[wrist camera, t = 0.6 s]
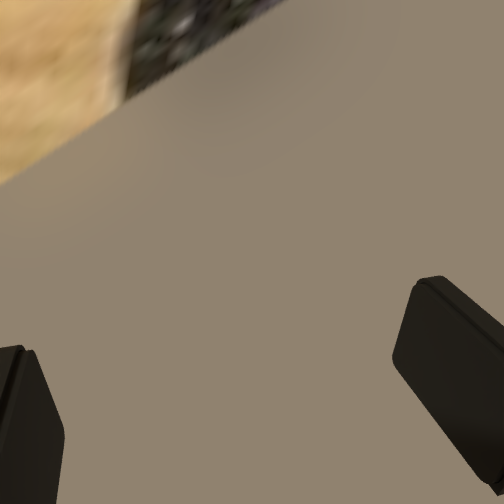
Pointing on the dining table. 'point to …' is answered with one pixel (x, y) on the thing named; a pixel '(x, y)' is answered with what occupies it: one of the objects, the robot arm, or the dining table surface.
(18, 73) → the dining table surface
